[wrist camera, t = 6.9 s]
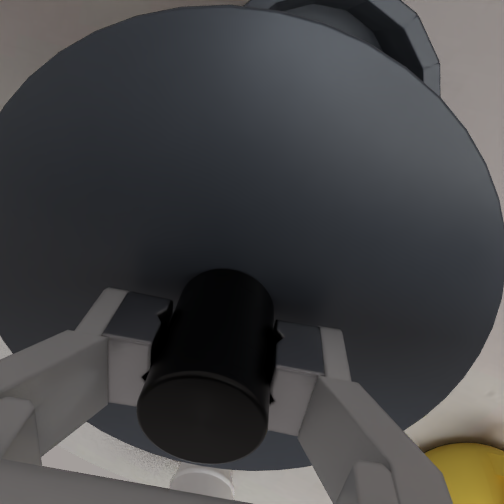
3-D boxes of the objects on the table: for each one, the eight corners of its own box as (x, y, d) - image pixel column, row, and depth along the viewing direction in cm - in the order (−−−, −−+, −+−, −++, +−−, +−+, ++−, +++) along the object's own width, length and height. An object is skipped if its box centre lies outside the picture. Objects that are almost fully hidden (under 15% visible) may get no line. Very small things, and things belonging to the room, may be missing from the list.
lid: (23, 402, 14) (-82, 549, 10) (-45, -49, 8) (-383, -134, 4) (387, 467, 15) (426, 639, 10) (596, 73, 8) (900, 113, 4)
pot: (212, 161, 31) (187, 201, 23) (237, -27, 25) (214, -53, 18) (367, 191, 31) (391, 241, 24) (427, 11, 25) (484, 2, 18)
